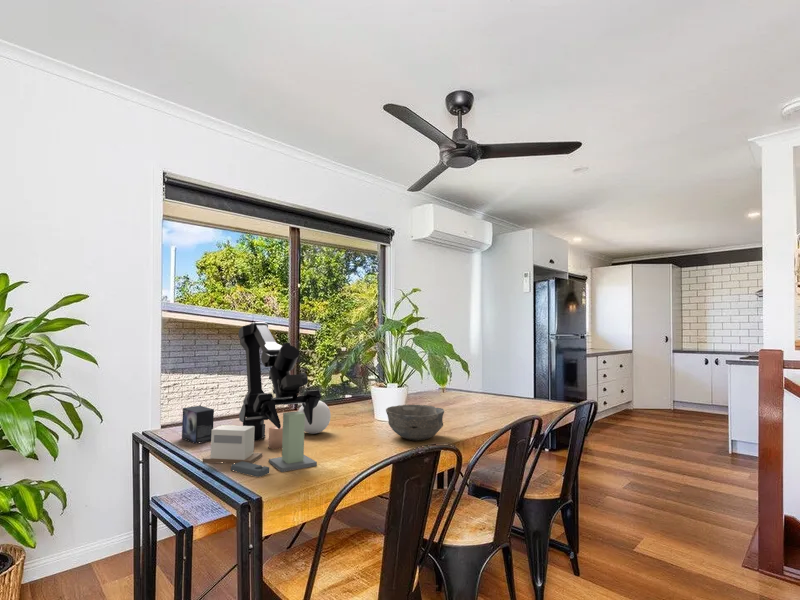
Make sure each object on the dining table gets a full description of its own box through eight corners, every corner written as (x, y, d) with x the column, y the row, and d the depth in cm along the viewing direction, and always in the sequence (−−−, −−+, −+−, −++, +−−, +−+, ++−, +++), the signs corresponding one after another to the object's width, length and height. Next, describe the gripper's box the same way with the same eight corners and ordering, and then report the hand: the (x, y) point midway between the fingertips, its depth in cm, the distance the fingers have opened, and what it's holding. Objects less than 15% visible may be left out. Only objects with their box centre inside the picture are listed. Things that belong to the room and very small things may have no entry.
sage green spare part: (281, 459, 123) (283, 412, 124) (296, 457, 126) (298, 411, 127) (288, 463, 120) (289, 415, 121) (303, 461, 123) (304, 413, 123)
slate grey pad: (268, 462, 124) (268, 458, 124) (302, 457, 130) (302, 453, 130) (281, 472, 116) (281, 468, 116) (316, 465, 122) (316, 461, 122)
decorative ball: (331, 429, 167) (332, 397, 167) (328, 437, 155) (329, 402, 156) (299, 429, 166) (300, 397, 167) (294, 437, 154) (295, 402, 155)
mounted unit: (202, 462, 124) (203, 429, 124) (217, 454, 132) (218, 423, 132) (250, 464, 122) (251, 431, 123) (262, 456, 130) (263, 425, 131)
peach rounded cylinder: (265, 448, 139) (266, 429, 139) (272, 444, 144) (272, 425, 144) (281, 449, 138) (281, 429, 139) (286, 445, 143) (287, 426, 144)
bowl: (377, 442, 148) (378, 412, 149) (394, 429, 168) (394, 403, 169) (438, 447, 143) (438, 416, 143) (448, 433, 162) (448, 406, 163)
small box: (180, 438, 150) (181, 407, 151) (198, 435, 155) (200, 405, 156) (194, 444, 143) (196, 411, 144) (213, 440, 148) (215, 408, 149)
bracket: (242, 468, 120) (242, 460, 120) (270, 474, 115) (270, 466, 115) (230, 472, 117) (230, 464, 117) (258, 479, 112) (258, 471, 112)
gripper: (258, 365, 123) (270, 411, 113) (319, 362, 133) (335, 405, 124) (248, 390, 128) (259, 436, 119) (308, 386, 139) (322, 428, 130)
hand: (295, 425), depth 123 cm, fingers open, 9 cm apart
